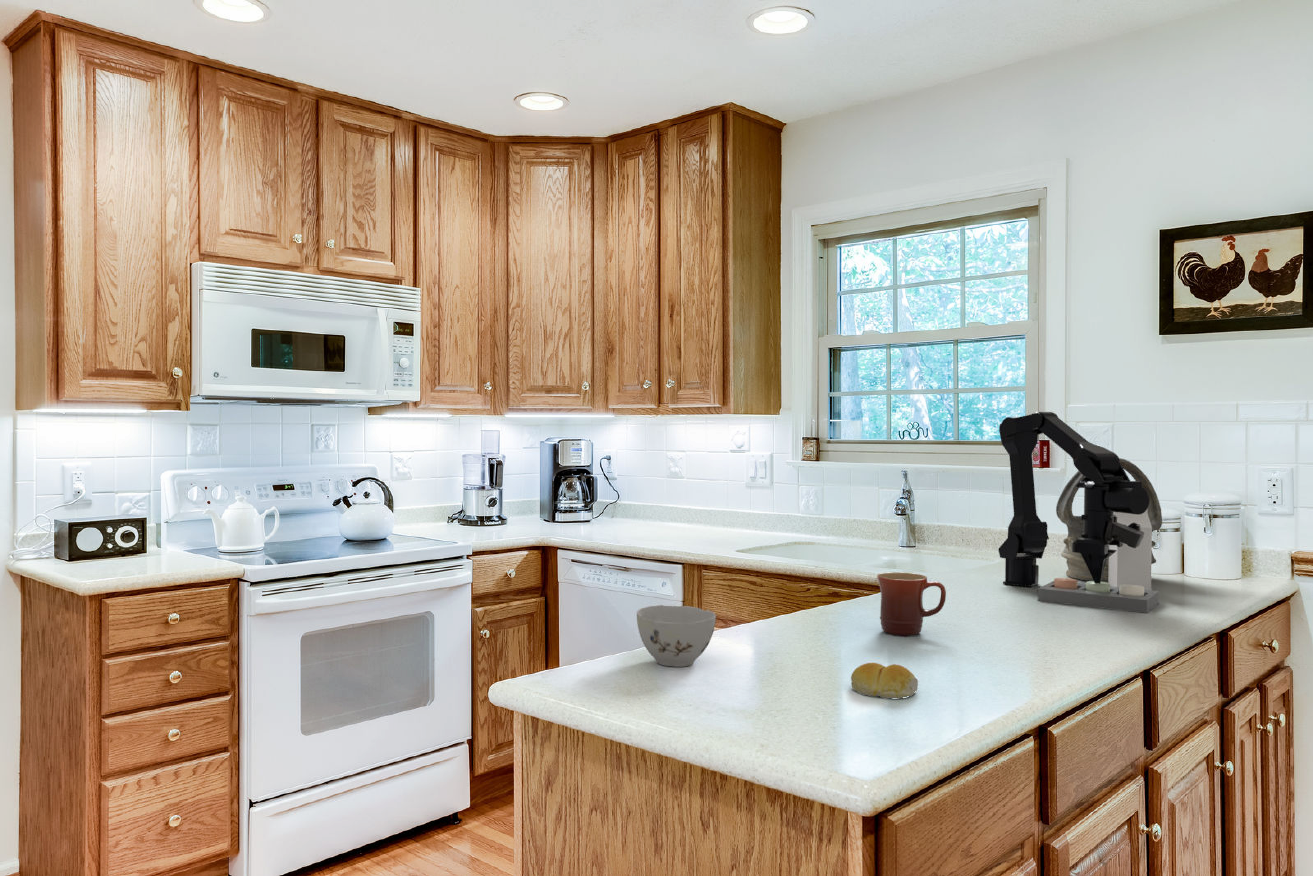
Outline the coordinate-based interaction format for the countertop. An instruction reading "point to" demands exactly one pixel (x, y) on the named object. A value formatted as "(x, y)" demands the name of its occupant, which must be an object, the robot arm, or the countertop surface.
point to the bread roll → (884, 681)
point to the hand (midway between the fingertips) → (1097, 583)
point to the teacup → (675, 633)
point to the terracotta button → (1065, 583)
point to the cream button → (1131, 590)
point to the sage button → (1098, 587)
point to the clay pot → (1076, 524)
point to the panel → (1099, 598)
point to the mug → (905, 602)
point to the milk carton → (1132, 555)
